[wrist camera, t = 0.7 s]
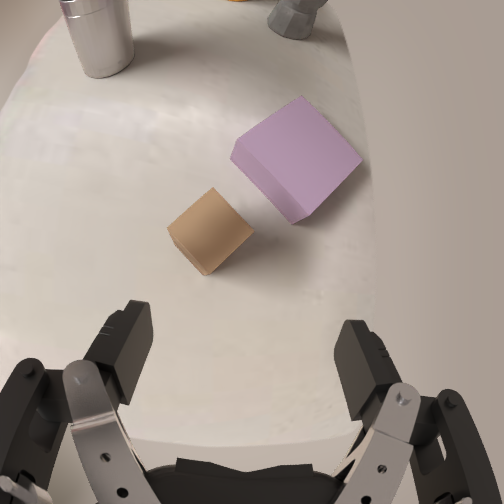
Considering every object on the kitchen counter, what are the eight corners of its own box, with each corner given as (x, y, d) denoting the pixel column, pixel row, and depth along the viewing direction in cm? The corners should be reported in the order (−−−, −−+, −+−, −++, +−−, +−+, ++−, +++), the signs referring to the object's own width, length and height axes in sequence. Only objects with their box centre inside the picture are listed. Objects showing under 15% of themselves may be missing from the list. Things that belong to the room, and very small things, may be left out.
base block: (229, 159, 35) (237, 139, 30) (287, 117, 38) (301, 95, 32) (291, 224, 36) (309, 215, 31) (341, 174, 39) (363, 159, 33)
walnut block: (175, 245, 33) (166, 227, 21) (204, 217, 34) (213, 187, 22) (203, 275, 33) (210, 274, 21) (232, 247, 34) (254, 231, 23)
